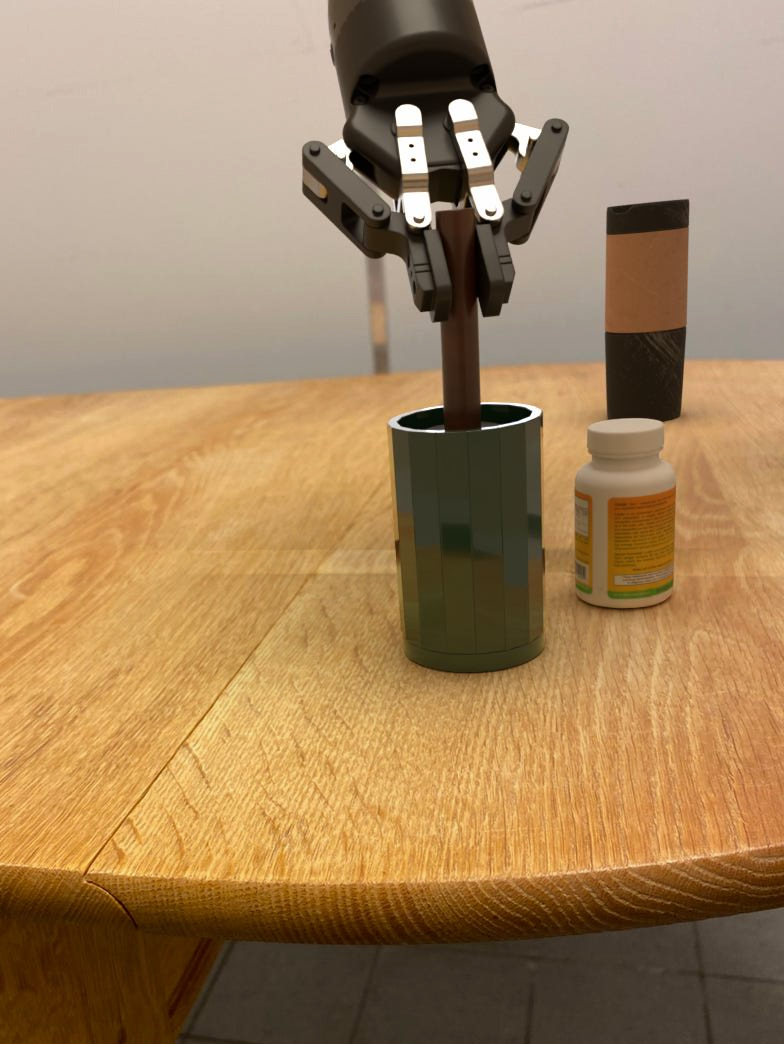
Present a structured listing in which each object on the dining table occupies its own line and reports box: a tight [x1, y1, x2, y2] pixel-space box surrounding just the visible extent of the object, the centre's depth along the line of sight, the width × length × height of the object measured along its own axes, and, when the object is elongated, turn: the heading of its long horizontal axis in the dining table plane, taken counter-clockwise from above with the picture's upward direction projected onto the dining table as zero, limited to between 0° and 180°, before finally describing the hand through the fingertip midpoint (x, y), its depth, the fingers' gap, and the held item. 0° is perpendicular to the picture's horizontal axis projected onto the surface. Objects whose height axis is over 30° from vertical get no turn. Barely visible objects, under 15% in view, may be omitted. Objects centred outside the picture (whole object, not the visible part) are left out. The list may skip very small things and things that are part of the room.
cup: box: [386, 401, 547, 673], centre depth 54 cm, size 7×7×12 cm
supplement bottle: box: [573, 418, 677, 609], centre depth 59 cm, size 5×5×10 cm
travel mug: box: [604, 198, 690, 422], centre depth 104 cm, size 8×8×20 cm
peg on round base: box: [426, 208, 500, 431], centre depth 51 cm, size 4×4×17 cm
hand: (469, 306), depth 48 cm, fingers closed on peg on round base, 2 cm apart
